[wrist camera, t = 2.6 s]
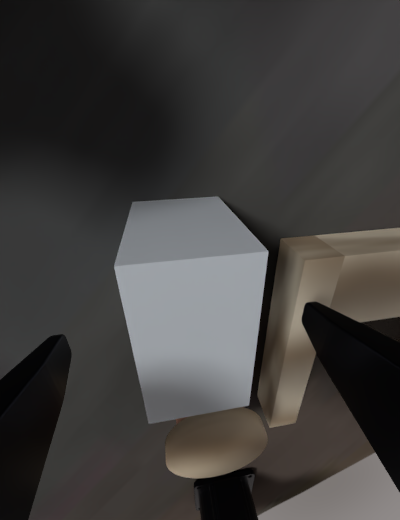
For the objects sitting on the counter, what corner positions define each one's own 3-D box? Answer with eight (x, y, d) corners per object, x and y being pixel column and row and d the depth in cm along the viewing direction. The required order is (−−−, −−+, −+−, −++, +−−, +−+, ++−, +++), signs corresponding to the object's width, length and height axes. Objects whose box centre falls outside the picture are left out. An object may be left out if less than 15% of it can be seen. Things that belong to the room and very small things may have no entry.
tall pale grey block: (216, 309, 15) (249, 405, 10) (150, 317, 15) (148, 424, 9) (217, 196, 12) (268, 251, 7) (132, 201, 11) (114, 266, 6)
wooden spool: (238, 389, 19) (262, 466, 15) (166, 402, 18) (170, 486, 14) (242, 338, 17) (273, 413, 12) (158, 350, 16) (160, 435, 11)
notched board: (406, 368, 22) (434, 395, 20) (257, 395, 20) (269, 427, 18) (493, 219, 15) (549, 234, 13) (280, 238, 13) (305, 260, 11)
